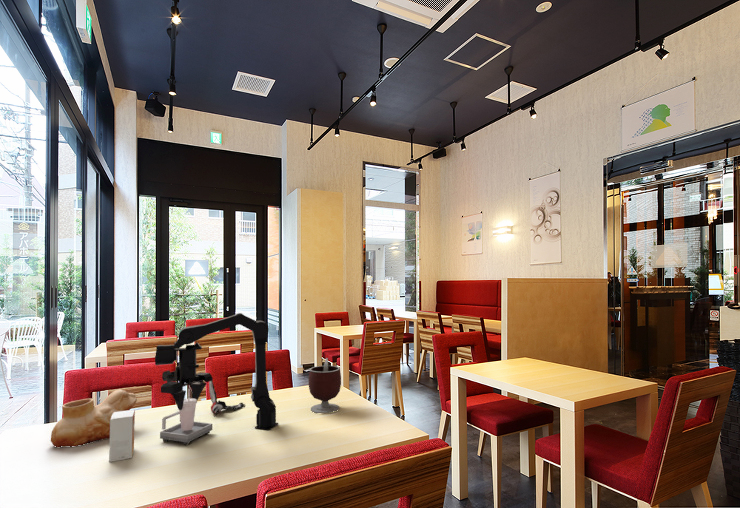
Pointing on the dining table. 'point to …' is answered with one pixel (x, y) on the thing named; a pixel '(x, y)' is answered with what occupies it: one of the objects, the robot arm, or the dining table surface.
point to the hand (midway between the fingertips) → (187, 407)
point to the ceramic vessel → (89, 419)
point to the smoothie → (188, 413)
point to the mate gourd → (324, 386)
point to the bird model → (219, 405)
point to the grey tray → (179, 434)
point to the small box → (121, 435)
